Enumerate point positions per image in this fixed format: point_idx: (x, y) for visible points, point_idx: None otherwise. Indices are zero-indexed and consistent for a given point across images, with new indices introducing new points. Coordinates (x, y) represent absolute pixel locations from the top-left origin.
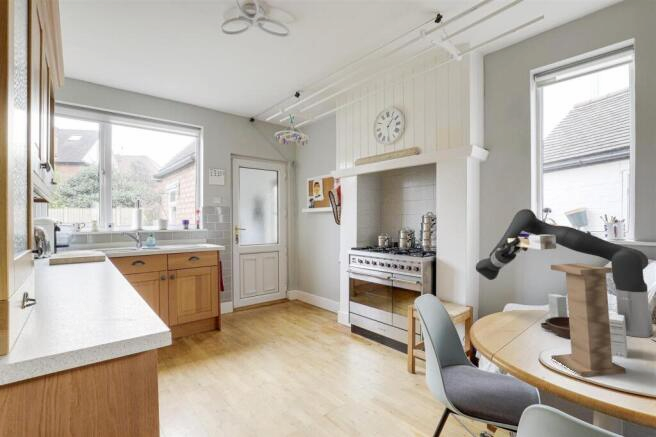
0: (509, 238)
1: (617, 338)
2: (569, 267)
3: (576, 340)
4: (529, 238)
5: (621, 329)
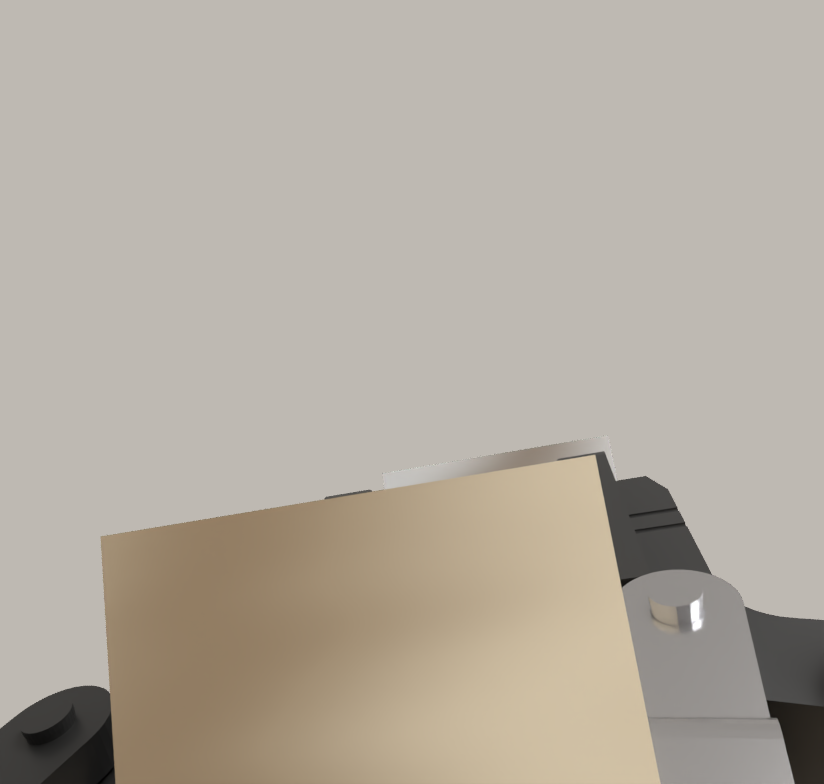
0: (496, 477)
1: None
2: None
3: None
4: (616, 480)
5: None
